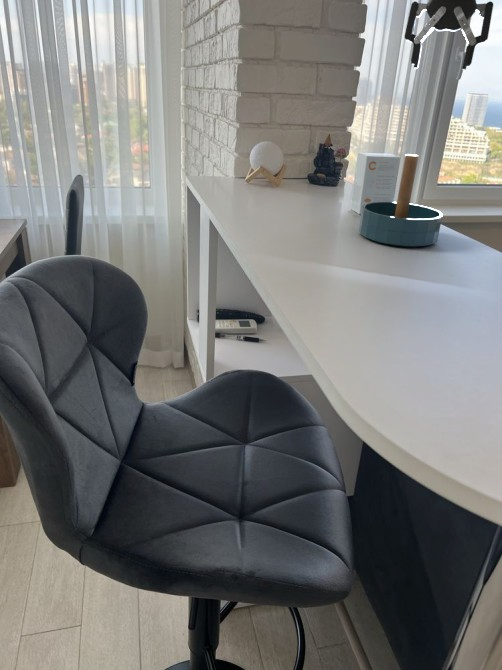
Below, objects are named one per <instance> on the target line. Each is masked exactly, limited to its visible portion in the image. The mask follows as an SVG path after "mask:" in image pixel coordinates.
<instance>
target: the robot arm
mask: <svg viewBox="0 0 502 670" xmlns="http://www.w3.org/2000/svg"><path fill="white" fill-rule="evenodd" d="M493 9H494V3H493V1H491V0H490V1H488V2H485V3H478V2H477V0H428V2H427V3H424V2H423V3H422V2H418V1H413V2H412V3H411V4H410V8H409V13H408V18H407V24H406V27H405V32H404V39H405V40H406V41H407V42H409V43H411V44H412V46H413V48H412V53H411V58H410V63H411V65H413V69H419V66H420V60H421V55H422V51H423V50H422V48H423V46H422V43H423V42H424V41H425V40H426V38H427V37H428V36H429V35H430V34H431V33H432V32H433V31H434V30H435V31H437V32H445V31H449V32H457V31H459V30H461V32H462V34H463V36H464V37H465V40H466V42H467V46H466V48H465V53H464V58H463V63H462V68H461V71H466V70H467V67H468V68H469V67H471V65H472V62H473V58H474V55H475V54H474V53H475V49H476V47H477V46H478V45H480V44H484V43H486V42H487V41H488V39H489V33H490V28H491V23H492V22H491V21H492V16H493ZM425 11H426V14H427V16H428V18H429V20H428V22H427V23H426V24H425V25H424V26H423V27H422V29H421V30H420V31H419V33H417V35H415V34H414V32H415V28H416V23H417V19H418V18H420V17H421V16H422V14H423V12H425ZM476 12H478V15H479V18H481V19H482V25H481V31H480V35H478V36H475V34H474V32H473V30H472V28H471V26H470V24H469V22H468V21H469V20H470V19H471V17H472V16H473V15H475V13H476Z"/></svg>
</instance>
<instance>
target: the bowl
mask: <svg viewBox="0 0 502 670" xmlns="http://www.w3.org/2000/svg"><path fill="white" fill-rule="evenodd" d="M396 205H397V201H393V202H372V203H367V204H364V205H363V206H362V212H361V214H360V220H359V224H358V225H359V226H358V232H359V234H360V235H361V236H363V237H364V238H367V239H369V240H371V241H373V242H376V243H379V244H383V245H388V246H393V247H402V248H403V247H404V248H417V247H418V248H419V247H424V246H430V245H434V244H436V243H437V242H438V238H439V235H440V230H441V225H442V220H443V216H444V215H443V213H442V212H441V211H440V210H437V209H434V208H432V207H428V206H424V205H420V204H414V203H410V205H409V210H408V216H407V218H398V217H394V216H395V211H396Z"/></svg>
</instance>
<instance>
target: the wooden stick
mask: <svg viewBox="0 0 502 670" xmlns="http://www.w3.org/2000/svg"><path fill="white" fill-rule="evenodd" d="M419 158H420V157H419V155H418V154H411V153H407V154H404V160H403V166H402V172H401V177H400V183H399V189H398V193H397V194H398V195H397V200H396V202H397V205H396V211H395V216H394V217H398V218H407V216H408V210H409V205H410V204H411V201H412V200H411V199H412V195H413V190H414V189H413V188H414V185H415V184H414V183H415V179H416V172H417V169H418V168H417V167H418V163H419Z"/></svg>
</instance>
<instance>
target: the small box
mask: <svg viewBox="0 0 502 670" xmlns="http://www.w3.org/2000/svg"><path fill="white" fill-rule="evenodd" d="M355 163H356V164H355V170H354V171H355V172H354V179H353V185H352V194H351V202H350V203H351V204H350V210H351V211H354V212H355V213H356V214H357V215H361V212H362V206H363V205H364V204H367V203H372V202H394V200H395V193H396V189H397V182H398V181H397V180H398V176H399V169H400V164H401V156H399V155H397V154H393V153H385V152H383V153H380V152H379V153H378V152H357V156H356V162H355Z"/></svg>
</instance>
